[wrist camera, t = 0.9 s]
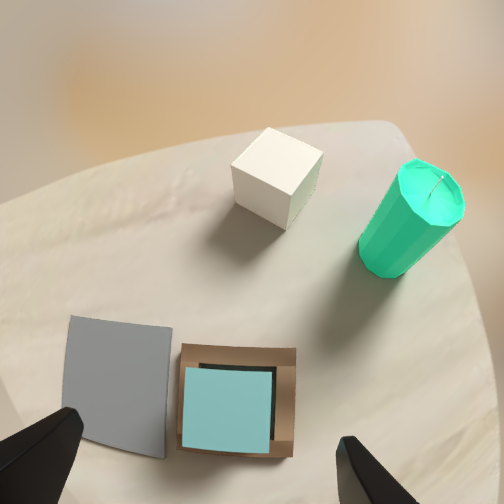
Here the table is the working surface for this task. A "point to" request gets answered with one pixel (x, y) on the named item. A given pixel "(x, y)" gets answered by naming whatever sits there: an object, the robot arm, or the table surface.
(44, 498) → the robot arm
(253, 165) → the white cube
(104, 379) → the mat
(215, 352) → the frame
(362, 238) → the candle
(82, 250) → the table surface
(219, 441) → the teal rectangular block
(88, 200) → the table surface
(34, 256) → the table surface
